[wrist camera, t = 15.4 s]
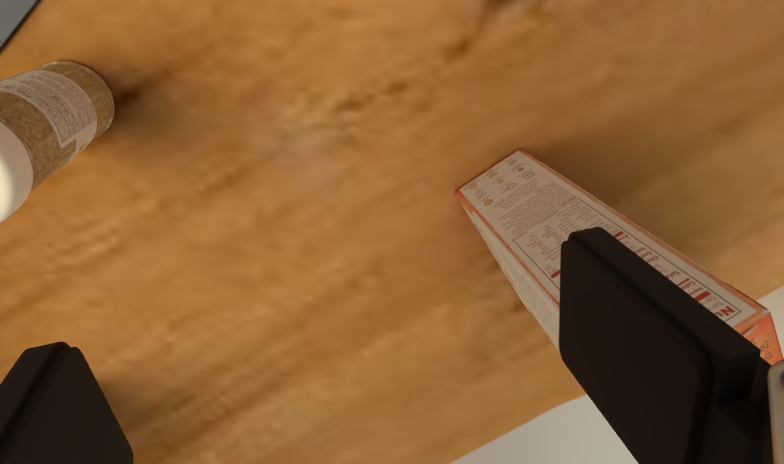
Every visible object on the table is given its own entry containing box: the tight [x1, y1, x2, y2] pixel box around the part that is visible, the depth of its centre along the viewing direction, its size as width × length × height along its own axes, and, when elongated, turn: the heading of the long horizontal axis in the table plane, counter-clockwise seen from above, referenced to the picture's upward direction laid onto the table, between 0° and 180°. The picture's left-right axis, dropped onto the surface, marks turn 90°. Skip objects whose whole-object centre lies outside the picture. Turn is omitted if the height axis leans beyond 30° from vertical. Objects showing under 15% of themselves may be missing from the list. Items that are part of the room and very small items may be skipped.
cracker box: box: [454, 149, 783, 365], centre depth 30 cm, size 14×6×21 cm, turn 32°
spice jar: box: [0, 61, 115, 223], centre depth 23 cm, size 5×5×13 cm
